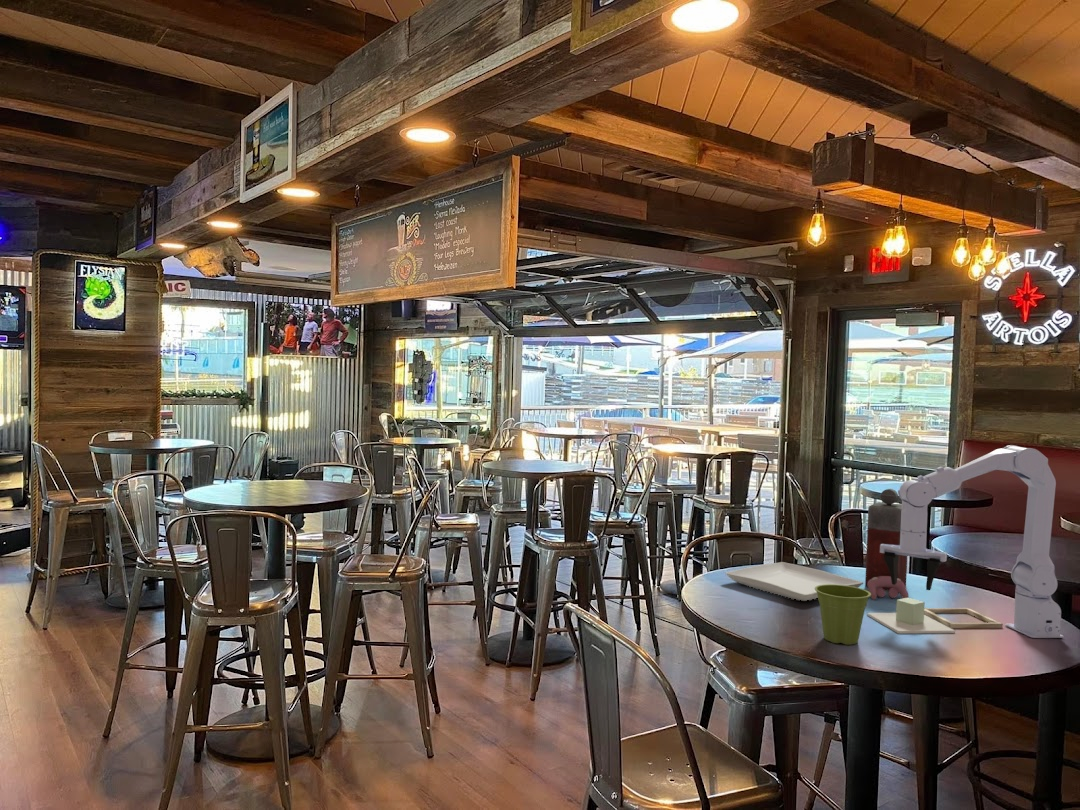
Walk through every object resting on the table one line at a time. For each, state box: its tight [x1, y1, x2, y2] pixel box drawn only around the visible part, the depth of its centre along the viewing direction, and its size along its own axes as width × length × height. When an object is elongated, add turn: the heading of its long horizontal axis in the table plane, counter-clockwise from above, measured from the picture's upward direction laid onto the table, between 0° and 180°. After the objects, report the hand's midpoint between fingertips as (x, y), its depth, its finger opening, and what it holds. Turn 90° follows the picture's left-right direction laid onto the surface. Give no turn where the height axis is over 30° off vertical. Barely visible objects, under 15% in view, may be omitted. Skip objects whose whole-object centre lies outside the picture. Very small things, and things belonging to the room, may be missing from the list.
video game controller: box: [867, 576, 910, 601], centre depth 214 cm, size 10×5×7 cm, turn 85°
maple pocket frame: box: [924, 607, 1004, 629], centre depth 196 cm, size 13×13×1 cm
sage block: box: [895, 597, 925, 625], centre depth 191 cm, size 4×4×5 cm
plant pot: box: [815, 584, 871, 646], centre depth 178 cm, size 12×12×11 cm
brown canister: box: [864, 488, 908, 592], centre depth 227 cm, size 9×11×28 cm
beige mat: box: [866, 612, 956, 635], centre depth 191 cm, size 14×14×1 cm
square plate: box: [725, 561, 864, 602], centre depth 223 cm, size 27×27×4 cm
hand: (911, 586), depth 191 cm, fingers open, 7 cm apart
